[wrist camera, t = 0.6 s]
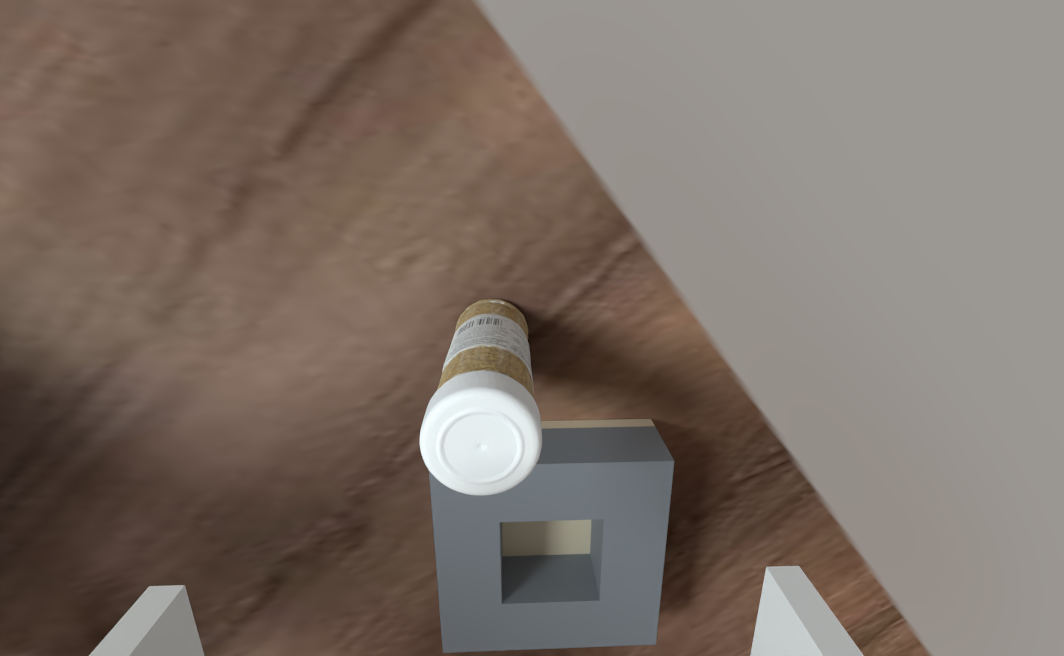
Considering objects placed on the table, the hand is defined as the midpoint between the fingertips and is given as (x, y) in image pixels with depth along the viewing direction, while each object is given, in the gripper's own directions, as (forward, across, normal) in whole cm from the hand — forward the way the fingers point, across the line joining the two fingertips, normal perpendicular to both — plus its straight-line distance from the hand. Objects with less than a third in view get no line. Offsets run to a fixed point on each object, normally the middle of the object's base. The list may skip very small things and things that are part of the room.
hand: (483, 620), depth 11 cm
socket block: (+20, +3, -13) cm, 24 cm away
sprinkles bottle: (+21, 0, 0) cm, 21 cm away
